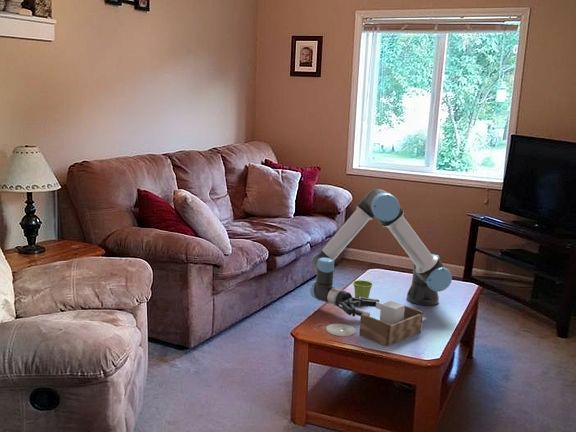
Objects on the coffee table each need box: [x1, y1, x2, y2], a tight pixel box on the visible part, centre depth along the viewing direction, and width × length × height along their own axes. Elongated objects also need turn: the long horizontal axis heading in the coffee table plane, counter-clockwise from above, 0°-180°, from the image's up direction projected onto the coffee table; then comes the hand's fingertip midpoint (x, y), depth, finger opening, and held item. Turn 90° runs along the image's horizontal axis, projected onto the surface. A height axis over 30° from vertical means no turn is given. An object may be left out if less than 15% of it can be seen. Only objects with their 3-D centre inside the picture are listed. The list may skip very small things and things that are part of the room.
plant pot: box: [352, 279, 374, 298], centre depth 289 cm, size 9×9×9 cm
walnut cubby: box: [358, 305, 424, 347], centre depth 250 cm, size 24×14×9 cm, turn 135°
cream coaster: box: [326, 323, 356, 337], centre depth 251 cm, size 12×12×1 cm
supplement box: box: [379, 300, 406, 325], centre depth 250 cm, size 7×7×13 cm
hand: (379, 312), depth 253 cm, fingers open, 13 cm apart
